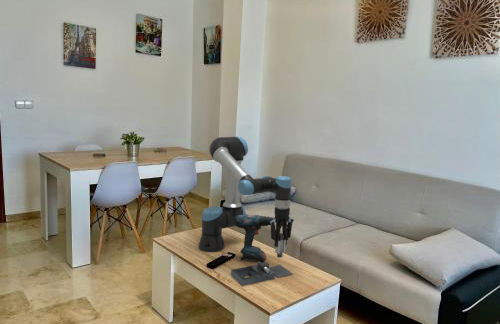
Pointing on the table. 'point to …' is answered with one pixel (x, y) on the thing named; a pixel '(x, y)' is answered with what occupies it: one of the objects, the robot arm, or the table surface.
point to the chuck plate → (253, 274)
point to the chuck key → (281, 245)
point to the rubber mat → (280, 271)
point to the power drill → (252, 235)
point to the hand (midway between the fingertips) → (280, 252)
